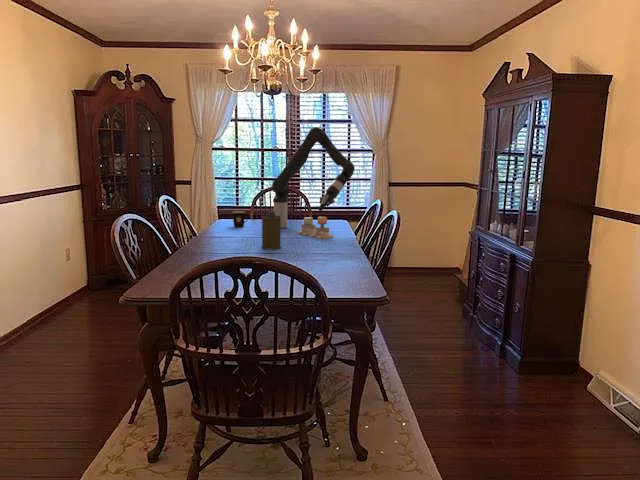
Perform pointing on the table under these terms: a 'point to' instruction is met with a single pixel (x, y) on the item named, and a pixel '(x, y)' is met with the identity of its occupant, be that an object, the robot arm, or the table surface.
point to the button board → (312, 234)
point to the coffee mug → (239, 218)
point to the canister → (271, 231)
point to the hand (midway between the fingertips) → (319, 210)
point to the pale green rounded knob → (308, 221)
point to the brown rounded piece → (322, 221)
